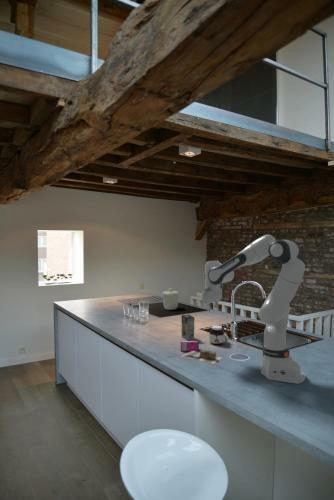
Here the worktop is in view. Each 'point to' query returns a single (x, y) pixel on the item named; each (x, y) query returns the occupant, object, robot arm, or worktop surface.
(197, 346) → the supplement box
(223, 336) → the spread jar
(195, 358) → the board
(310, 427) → the worktop surface
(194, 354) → the paddle
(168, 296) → the canister
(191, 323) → the coffee box
